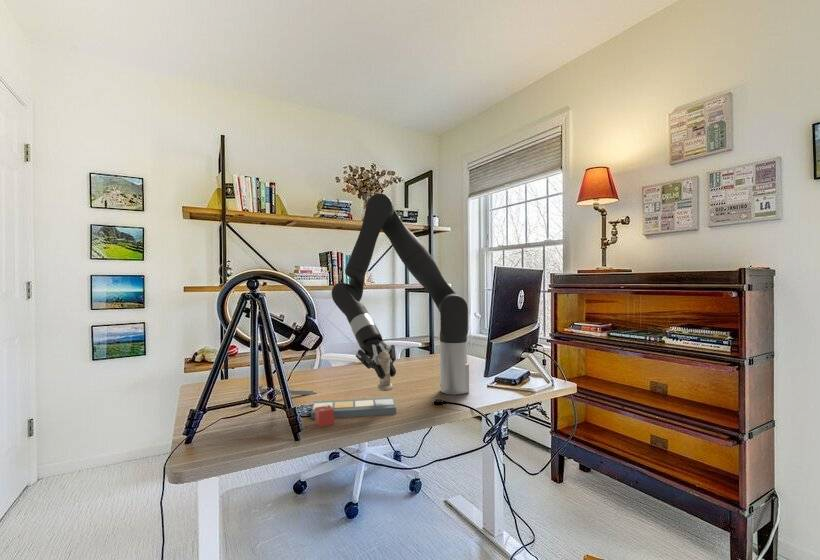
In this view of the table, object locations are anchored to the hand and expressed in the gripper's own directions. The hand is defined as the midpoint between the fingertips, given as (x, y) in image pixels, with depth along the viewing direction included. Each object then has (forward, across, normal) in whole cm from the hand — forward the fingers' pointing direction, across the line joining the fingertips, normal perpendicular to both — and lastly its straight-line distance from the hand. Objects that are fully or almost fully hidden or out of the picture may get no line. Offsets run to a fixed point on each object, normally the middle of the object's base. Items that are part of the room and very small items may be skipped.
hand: (388, 376), depth 119 cm
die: (+5, -20, +9) cm, 22 cm away
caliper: (-15, -19, +30) cm, 38 cm away
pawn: (+2, 0, +4) cm, 5 cm away
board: (+2, -8, +12) cm, 15 cm away
